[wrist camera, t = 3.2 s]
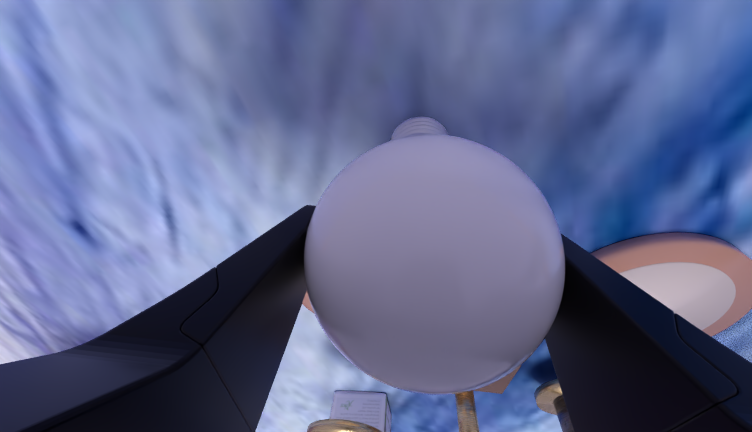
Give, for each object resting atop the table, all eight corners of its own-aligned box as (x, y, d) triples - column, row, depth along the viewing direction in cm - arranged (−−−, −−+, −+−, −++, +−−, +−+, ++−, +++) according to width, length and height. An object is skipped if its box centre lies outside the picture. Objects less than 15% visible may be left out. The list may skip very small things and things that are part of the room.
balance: (615, 359, 24) (720, 550, 16) (582, 390, 27) (655, 561, 19) (325, 327, 25) (284, 491, 17) (329, 361, 28) (296, 511, 20)
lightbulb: (501, 173, 15) (628, 434, 6) (384, 209, 17) (355, 446, 8) (469, 37, 12) (648, 191, 3) (328, 102, 14) (183, 309, 5)
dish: (802, 242, 16) (825, 257, 15) (669, 352, 22) (679, 366, 22) (585, 223, 16) (595, 236, 15) (518, 336, 23) (522, 349, 22)
